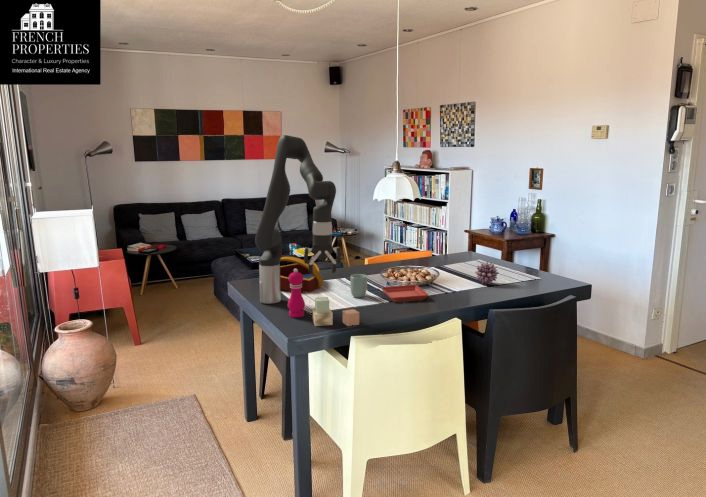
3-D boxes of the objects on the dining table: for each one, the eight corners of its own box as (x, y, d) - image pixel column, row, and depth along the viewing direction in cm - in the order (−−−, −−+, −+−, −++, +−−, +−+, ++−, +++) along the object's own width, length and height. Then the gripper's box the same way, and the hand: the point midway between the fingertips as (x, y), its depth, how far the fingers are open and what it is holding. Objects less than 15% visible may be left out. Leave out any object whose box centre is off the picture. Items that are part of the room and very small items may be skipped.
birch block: (315, 326, 210) (315, 314, 209) (312, 320, 216) (312, 309, 215) (332, 325, 211) (332, 313, 210) (329, 319, 218) (329, 308, 217)
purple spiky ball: (500, 283, 276) (502, 261, 273) (493, 288, 266) (494, 265, 263) (479, 280, 282) (480, 258, 279) (471, 285, 272) (472, 262, 269)
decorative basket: (252, 288, 274) (248, 260, 269) (293, 270, 294) (290, 244, 289) (298, 301, 252) (295, 272, 247) (339, 281, 273) (336, 253, 268)
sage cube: (316, 313, 210) (316, 301, 209) (315, 309, 215) (315, 297, 214) (329, 312, 211) (329, 300, 210) (327, 308, 216) (327, 296, 215)
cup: (365, 299, 246) (365, 278, 244) (348, 298, 248) (348, 277, 246) (368, 294, 254) (368, 274, 252) (352, 293, 255) (352, 273, 253)
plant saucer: (391, 304, 240) (391, 297, 240) (380, 293, 258) (380, 286, 257) (429, 301, 244) (429, 294, 244) (415, 291, 262) (415, 284, 261)
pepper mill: (288, 312, 226) (287, 266, 222) (305, 312, 226) (304, 266, 223) (287, 318, 219) (286, 270, 215) (305, 317, 219) (304, 270, 216)
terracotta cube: (347, 326, 210) (348, 314, 209) (342, 322, 214) (342, 310, 213) (359, 324, 212) (359, 312, 211) (353, 320, 216) (353, 309, 215)
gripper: (304, 234, 202) (305, 276, 205) (342, 234, 205) (341, 275, 208) (303, 231, 209) (303, 271, 213) (338, 230, 212) (338, 270, 215)
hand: (322, 273), depth 210 cm, fingers open, 8 cm apart
